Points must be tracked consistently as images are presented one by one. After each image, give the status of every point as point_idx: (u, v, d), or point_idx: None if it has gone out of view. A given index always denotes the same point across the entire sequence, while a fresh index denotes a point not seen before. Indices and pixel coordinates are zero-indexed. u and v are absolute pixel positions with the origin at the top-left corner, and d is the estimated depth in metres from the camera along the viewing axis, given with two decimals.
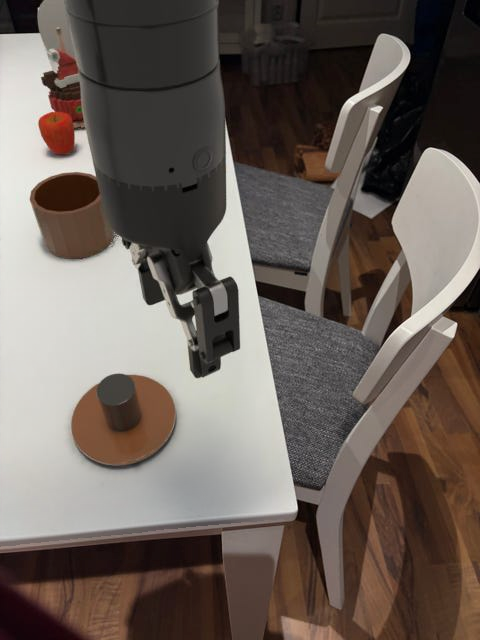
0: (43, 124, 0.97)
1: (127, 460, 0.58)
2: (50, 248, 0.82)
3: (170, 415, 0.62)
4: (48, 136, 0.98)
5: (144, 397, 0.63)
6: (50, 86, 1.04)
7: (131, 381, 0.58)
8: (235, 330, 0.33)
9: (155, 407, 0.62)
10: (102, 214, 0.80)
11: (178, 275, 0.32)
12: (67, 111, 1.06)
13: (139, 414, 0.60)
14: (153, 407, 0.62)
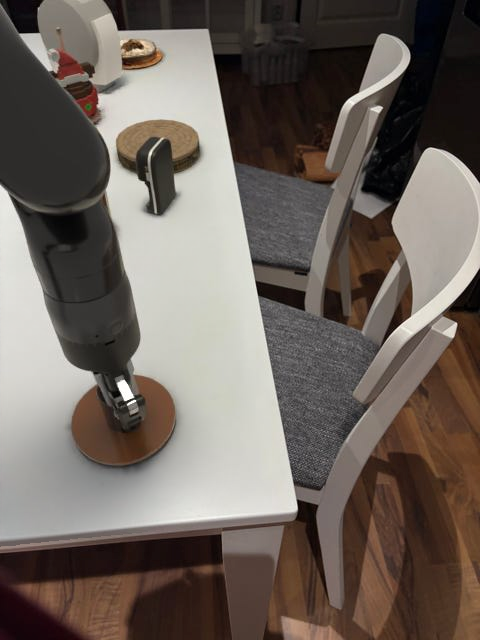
0: None
1: (127, 460, 0.58)
2: None
3: (170, 415, 0.62)
4: None
5: (144, 397, 0.63)
6: None
7: None
8: (143, 415, 0.53)
9: (155, 407, 0.62)
10: None
11: (109, 385, 0.51)
12: None
13: None
14: (153, 407, 0.62)
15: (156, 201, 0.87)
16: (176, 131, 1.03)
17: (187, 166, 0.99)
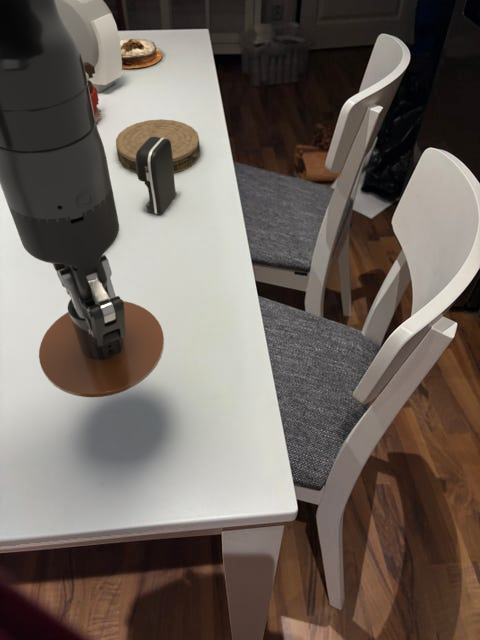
0: None
1: (104, 391, 0.48)
2: None
3: (158, 342, 0.52)
4: None
5: (127, 323, 0.53)
6: None
7: None
8: (122, 328, 0.43)
9: (140, 334, 0.52)
10: None
11: (79, 284, 0.41)
12: None
13: (120, 339, 0.51)
14: (137, 334, 0.52)
15: (156, 201, 0.87)
16: (176, 131, 1.03)
17: (187, 166, 0.99)
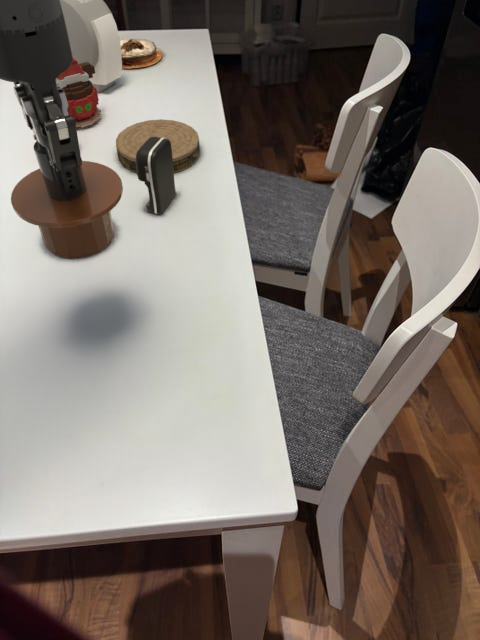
0: None
1: (66, 221, 0.54)
2: (50, 248, 0.82)
3: (117, 189, 0.58)
4: None
5: (91, 176, 0.60)
6: None
7: None
8: (77, 152, 0.50)
9: (101, 183, 0.59)
10: None
11: (37, 105, 0.47)
12: None
13: (82, 184, 0.57)
14: (99, 183, 0.59)
15: (156, 201, 0.87)
16: (176, 131, 1.03)
17: (187, 166, 0.99)
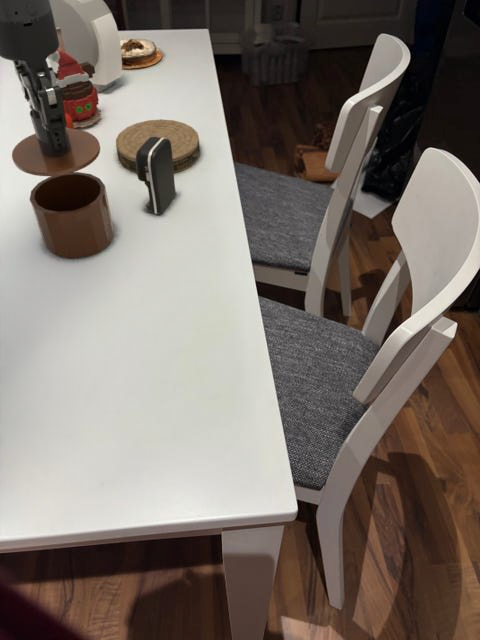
0: None
1: (55, 171, 0.70)
2: (50, 248, 0.82)
3: (95, 148, 0.74)
4: None
5: (75, 139, 0.76)
6: None
7: None
8: (63, 115, 0.66)
9: (83, 144, 0.75)
10: (102, 214, 0.80)
11: (32, 78, 0.63)
12: (67, 111, 1.06)
13: (68, 144, 0.73)
14: (81, 144, 0.75)
15: (156, 201, 0.87)
16: (176, 131, 1.03)
17: (187, 166, 0.99)
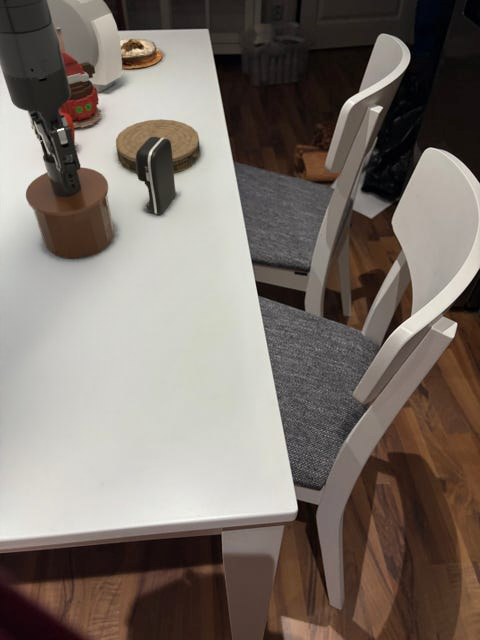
0: None
1: (67, 211, 0.75)
2: (50, 248, 0.82)
3: (103, 188, 0.79)
4: None
5: (84, 179, 0.81)
6: None
7: None
8: (75, 155, 0.69)
9: (92, 184, 0.80)
10: (102, 214, 0.80)
11: (46, 127, 0.68)
12: (67, 111, 1.06)
13: None
14: (91, 184, 0.80)
15: (156, 201, 0.87)
16: (176, 131, 1.03)
17: (187, 166, 0.99)
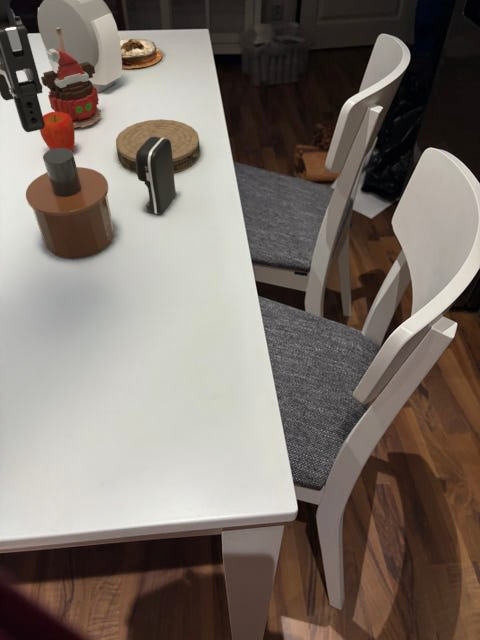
0: None
1: (67, 211, 0.75)
2: (50, 248, 0.82)
3: (103, 188, 0.79)
4: (48, 136, 0.98)
5: (84, 179, 0.81)
6: (50, 86, 1.04)
7: (70, 151, 0.75)
8: (33, 70, 0.49)
9: (92, 184, 0.80)
10: (102, 214, 0.80)
11: None
12: (67, 111, 1.06)
13: (78, 184, 0.78)
14: (91, 184, 0.80)
15: (156, 201, 0.87)
16: (176, 131, 1.03)
17: (187, 166, 0.99)
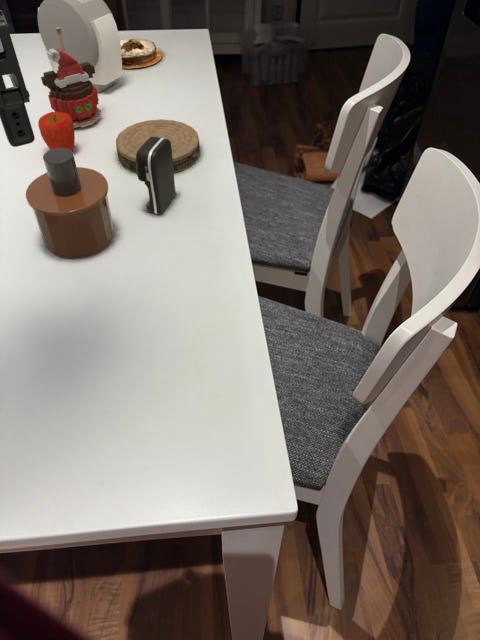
0: (43, 124, 0.97)
1: (67, 211, 0.75)
2: (50, 248, 0.82)
3: (103, 188, 0.79)
4: (48, 136, 0.98)
5: (84, 179, 0.81)
6: (50, 86, 1.04)
7: (70, 151, 0.75)
8: (18, 75, 0.41)
9: (92, 184, 0.80)
10: (102, 214, 0.80)
11: None
12: (67, 111, 1.06)
13: (78, 184, 0.78)
14: (91, 184, 0.80)
15: (156, 201, 0.87)
16: (176, 131, 1.03)
17: (187, 166, 0.99)
